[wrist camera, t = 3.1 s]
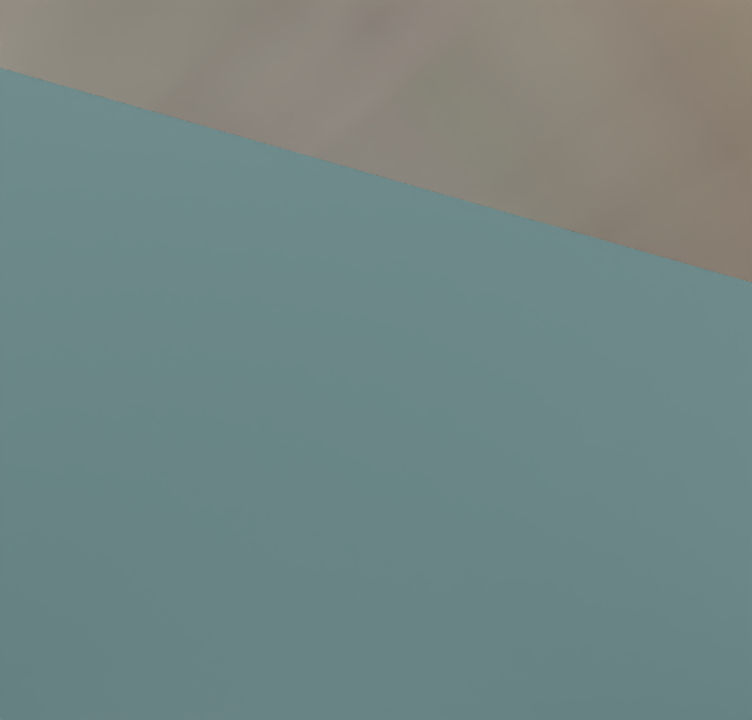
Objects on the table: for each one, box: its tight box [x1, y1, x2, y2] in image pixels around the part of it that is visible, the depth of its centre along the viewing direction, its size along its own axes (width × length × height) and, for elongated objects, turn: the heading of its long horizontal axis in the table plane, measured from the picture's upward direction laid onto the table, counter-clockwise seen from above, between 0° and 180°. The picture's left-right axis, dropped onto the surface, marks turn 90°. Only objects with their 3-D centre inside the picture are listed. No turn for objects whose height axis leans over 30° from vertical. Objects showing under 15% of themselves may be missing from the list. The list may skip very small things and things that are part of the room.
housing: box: [0, 68, 752, 720], centre depth 8 cm, size 9×13×9 cm
